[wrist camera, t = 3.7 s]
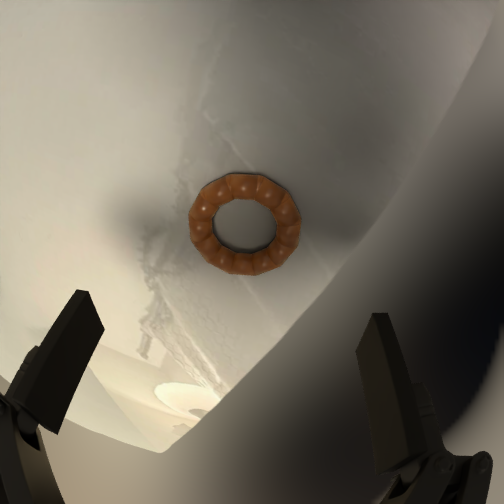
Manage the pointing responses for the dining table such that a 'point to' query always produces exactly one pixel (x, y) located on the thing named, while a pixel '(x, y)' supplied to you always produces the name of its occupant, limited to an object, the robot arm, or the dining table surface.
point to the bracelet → (248, 190)
